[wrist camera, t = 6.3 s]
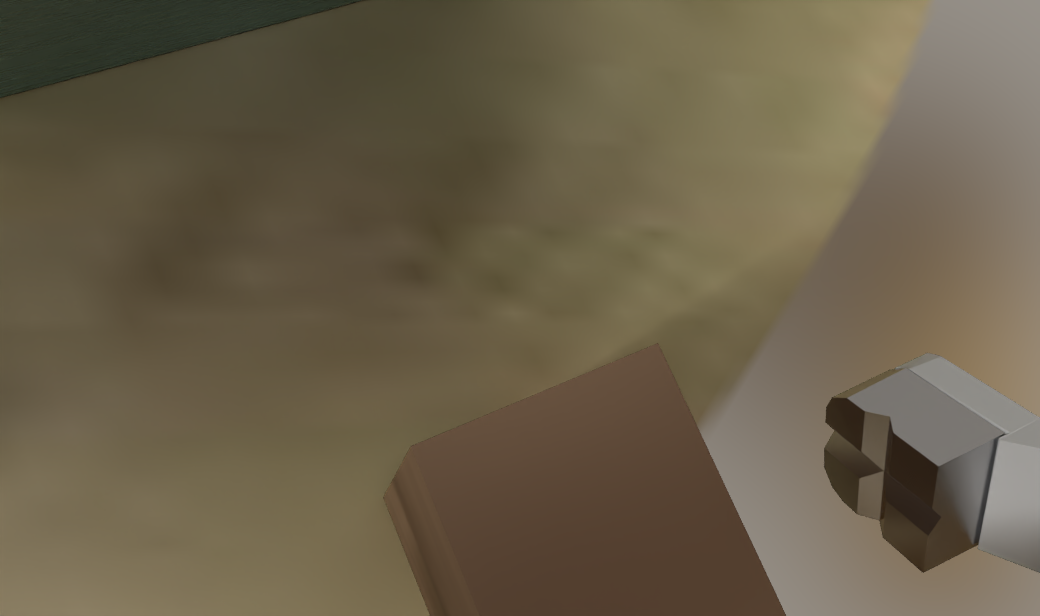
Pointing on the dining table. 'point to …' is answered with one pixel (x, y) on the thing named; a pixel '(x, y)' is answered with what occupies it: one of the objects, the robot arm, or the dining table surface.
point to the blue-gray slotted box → (120, 32)
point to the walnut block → (578, 507)
